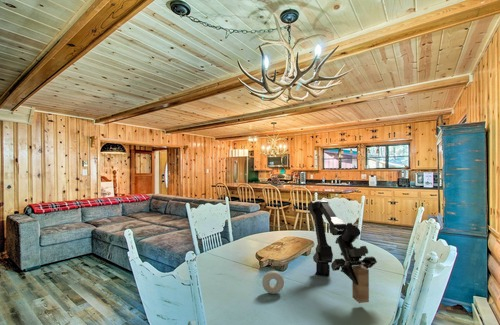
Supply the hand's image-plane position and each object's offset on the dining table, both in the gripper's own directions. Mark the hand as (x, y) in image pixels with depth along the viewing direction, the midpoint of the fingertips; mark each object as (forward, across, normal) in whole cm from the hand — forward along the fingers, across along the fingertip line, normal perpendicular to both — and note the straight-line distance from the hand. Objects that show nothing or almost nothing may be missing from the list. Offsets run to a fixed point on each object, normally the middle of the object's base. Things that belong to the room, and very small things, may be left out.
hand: (362, 284), depth 99 cm
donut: (-6, -32, +20) cm, 39 cm away
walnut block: (+4, 0, +6) cm, 7 cm away
